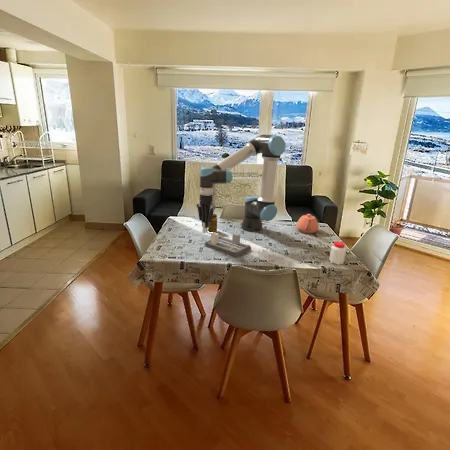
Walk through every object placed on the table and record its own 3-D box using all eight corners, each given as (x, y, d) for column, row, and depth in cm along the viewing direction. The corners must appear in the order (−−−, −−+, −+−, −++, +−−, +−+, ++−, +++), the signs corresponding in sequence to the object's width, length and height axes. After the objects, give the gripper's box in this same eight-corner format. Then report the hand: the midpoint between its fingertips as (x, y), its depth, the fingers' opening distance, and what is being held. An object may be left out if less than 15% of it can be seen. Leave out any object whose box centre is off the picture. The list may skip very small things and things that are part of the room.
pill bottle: (328, 263, 163) (331, 244, 159) (329, 257, 170) (332, 239, 166) (343, 265, 160) (347, 247, 157) (343, 260, 167) (347, 242, 164)
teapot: (319, 237, 201) (322, 220, 197) (295, 235, 204) (297, 217, 200) (316, 227, 221) (319, 211, 217) (295, 225, 224) (297, 209, 220)
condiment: (219, 232, 204) (219, 215, 200) (208, 234, 199) (209, 216, 195) (213, 229, 209) (214, 212, 206) (203, 230, 205) (203, 214, 201)
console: (204, 245, 179) (205, 232, 177) (219, 239, 190) (219, 227, 187) (237, 257, 165) (238, 243, 163) (251, 249, 176) (252, 236, 173)
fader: (210, 242, 178) (211, 233, 176) (213, 241, 180) (214, 232, 178) (215, 244, 176) (215, 234, 174) (218, 243, 178) (218, 233, 176)
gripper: (193, 193, 174) (192, 231, 181) (210, 197, 167) (208, 236, 174) (202, 191, 180) (201, 228, 187) (218, 195, 172) (217, 233, 180)
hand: (204, 232), depth 180 cm, fingers closed
